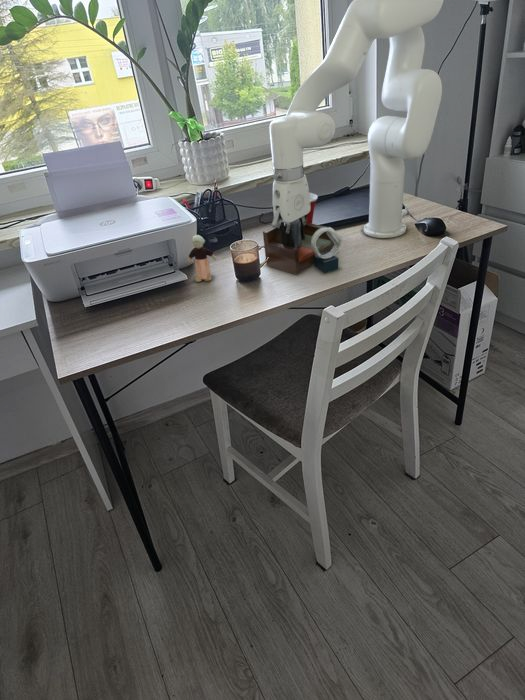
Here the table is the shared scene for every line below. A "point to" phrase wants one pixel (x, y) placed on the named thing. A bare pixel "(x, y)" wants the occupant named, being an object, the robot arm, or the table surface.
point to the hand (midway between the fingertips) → (293, 241)
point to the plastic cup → (312, 203)
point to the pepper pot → (296, 233)
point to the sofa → (294, 249)
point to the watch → (327, 259)
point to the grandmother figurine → (201, 259)
